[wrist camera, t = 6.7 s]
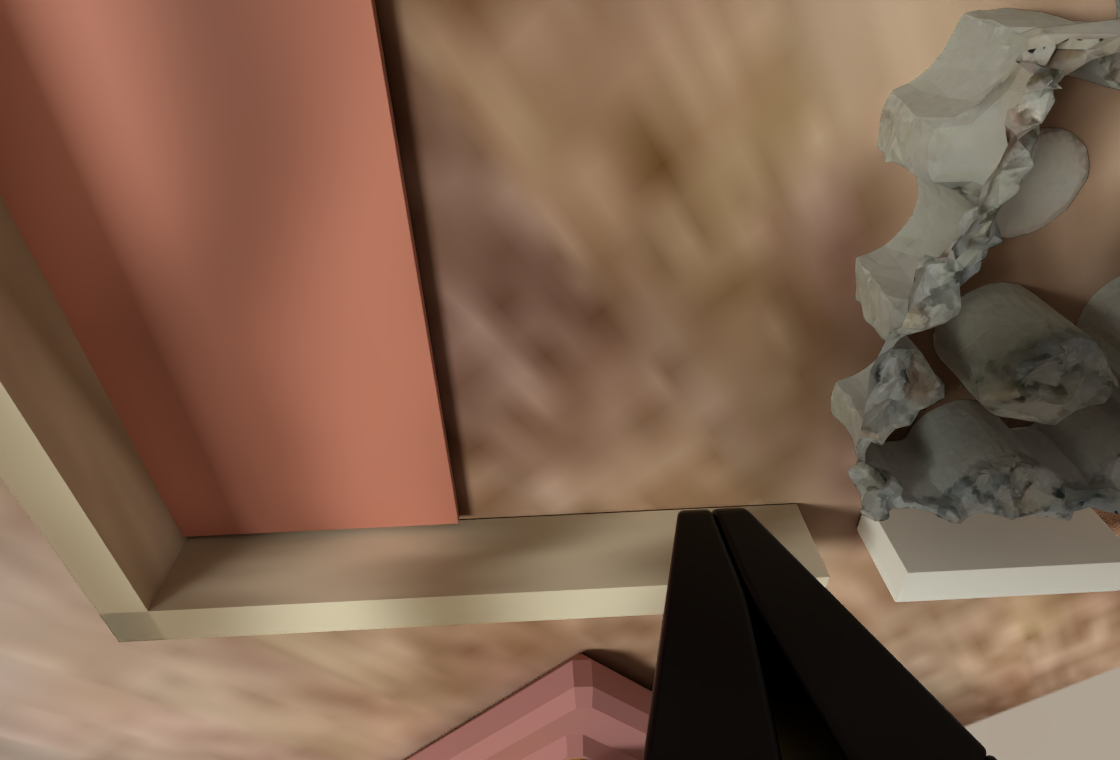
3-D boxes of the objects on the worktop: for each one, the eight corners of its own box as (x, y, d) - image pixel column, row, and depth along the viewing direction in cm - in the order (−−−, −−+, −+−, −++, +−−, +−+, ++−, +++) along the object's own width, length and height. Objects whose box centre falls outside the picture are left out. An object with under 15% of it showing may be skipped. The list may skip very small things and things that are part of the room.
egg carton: (890, -12, 12) (1037, 21, 8) (1315, -37, 12) (1632, -16, 8) (794, 447, 18) (855, 570, 14) (1071, 429, 18) (1196, 549, 14)
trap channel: (1012, -312, 9) (1149, -374, 7) (789, 532, 19) (819, 606, 17) (-328, -279, 9) (-580, -334, 7) (162, 563, 19) (119, 642, 17)
